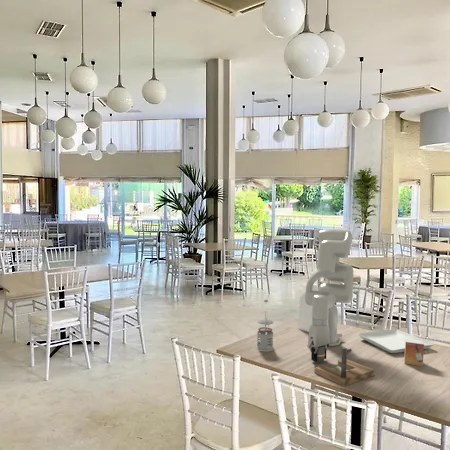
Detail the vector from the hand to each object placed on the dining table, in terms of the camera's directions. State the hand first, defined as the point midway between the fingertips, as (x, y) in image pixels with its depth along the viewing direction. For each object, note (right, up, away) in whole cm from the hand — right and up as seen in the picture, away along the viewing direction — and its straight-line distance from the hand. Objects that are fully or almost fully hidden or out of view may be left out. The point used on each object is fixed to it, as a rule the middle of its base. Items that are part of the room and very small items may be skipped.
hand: (318, 359), depth 209 cm
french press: (-24, 0, +18) cm, 30 cm away
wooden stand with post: (+8, -2, -15) cm, 17 cm away
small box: (+44, -2, 0) cm, 44 cm away
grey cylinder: (0, -1, 0) cm, 1 cm away
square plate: (+45, -1, +26) cm, 52 cm away
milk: (+7, +2, +51) cm, 52 cm away
